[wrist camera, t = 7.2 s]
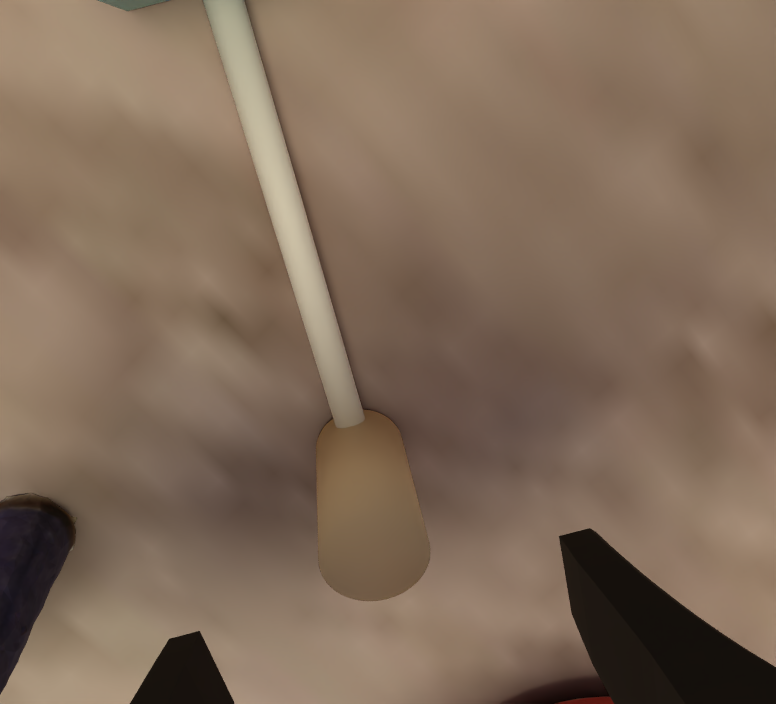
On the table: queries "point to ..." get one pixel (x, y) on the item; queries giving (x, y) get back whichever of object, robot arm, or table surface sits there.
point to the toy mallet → (325, 360)
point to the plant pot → (589, 701)
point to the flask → (28, 567)
